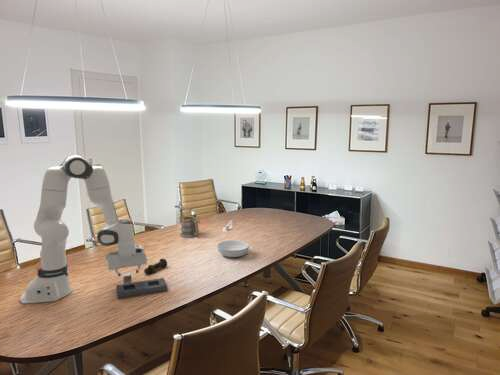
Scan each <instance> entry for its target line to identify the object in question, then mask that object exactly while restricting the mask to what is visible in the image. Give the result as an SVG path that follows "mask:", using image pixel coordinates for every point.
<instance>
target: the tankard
mask: <svg viewBox="0 0 500 375" xmlns="http://www.w3.org/2000/svg"><path fill="white" fill-rule="evenodd" d="M200 223H201V221H200V219H198V218H197V217H195V216H184V217H183V216H182V218H181V221H180V226H181V228H180V231H181V233H180V234H179V236H180V237H181V238H183V239H186V238H187V239H192V238H195V237H196V238H197V237H198V235H199V231H200V230H199V229H200V228H199V225H198V224H200Z"/></svg>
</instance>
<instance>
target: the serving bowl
mask: <svg viewBox="0 0 500 375" xmlns="http://www.w3.org/2000/svg"><path fill="white" fill-rule="evenodd" d="M216 247H217V248H216V249H217V250H218V253H220V255H222V256H224V257H226V258H227V257H228V258H238V257H241V256H244V255H245V254H247V253H248V252H249V248H250V244H249V243H248V242H245V241H243V240H237V239H236V240H235V239H234V240H232V239H231V240H225V241H220V242H219V243H217V245H216Z"/></svg>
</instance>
